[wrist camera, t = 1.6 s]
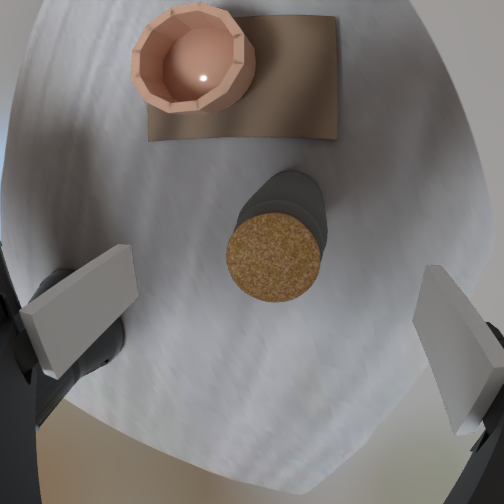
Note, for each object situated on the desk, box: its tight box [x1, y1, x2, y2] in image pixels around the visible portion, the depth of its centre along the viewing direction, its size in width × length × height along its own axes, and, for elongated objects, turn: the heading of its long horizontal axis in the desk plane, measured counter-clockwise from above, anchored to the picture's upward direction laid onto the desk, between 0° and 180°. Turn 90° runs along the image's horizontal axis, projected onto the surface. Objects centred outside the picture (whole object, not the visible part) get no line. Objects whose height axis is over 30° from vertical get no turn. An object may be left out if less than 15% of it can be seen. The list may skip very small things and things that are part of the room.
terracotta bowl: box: [131, 2, 256, 116], centre depth 23 cm, size 10×10×5 cm
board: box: [148, 15, 338, 142], centre depth 25 cm, size 18×12×1 cm, turn 90°
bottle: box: [226, 171, 328, 302], centre depth 22 cm, size 6×6×15 cm
